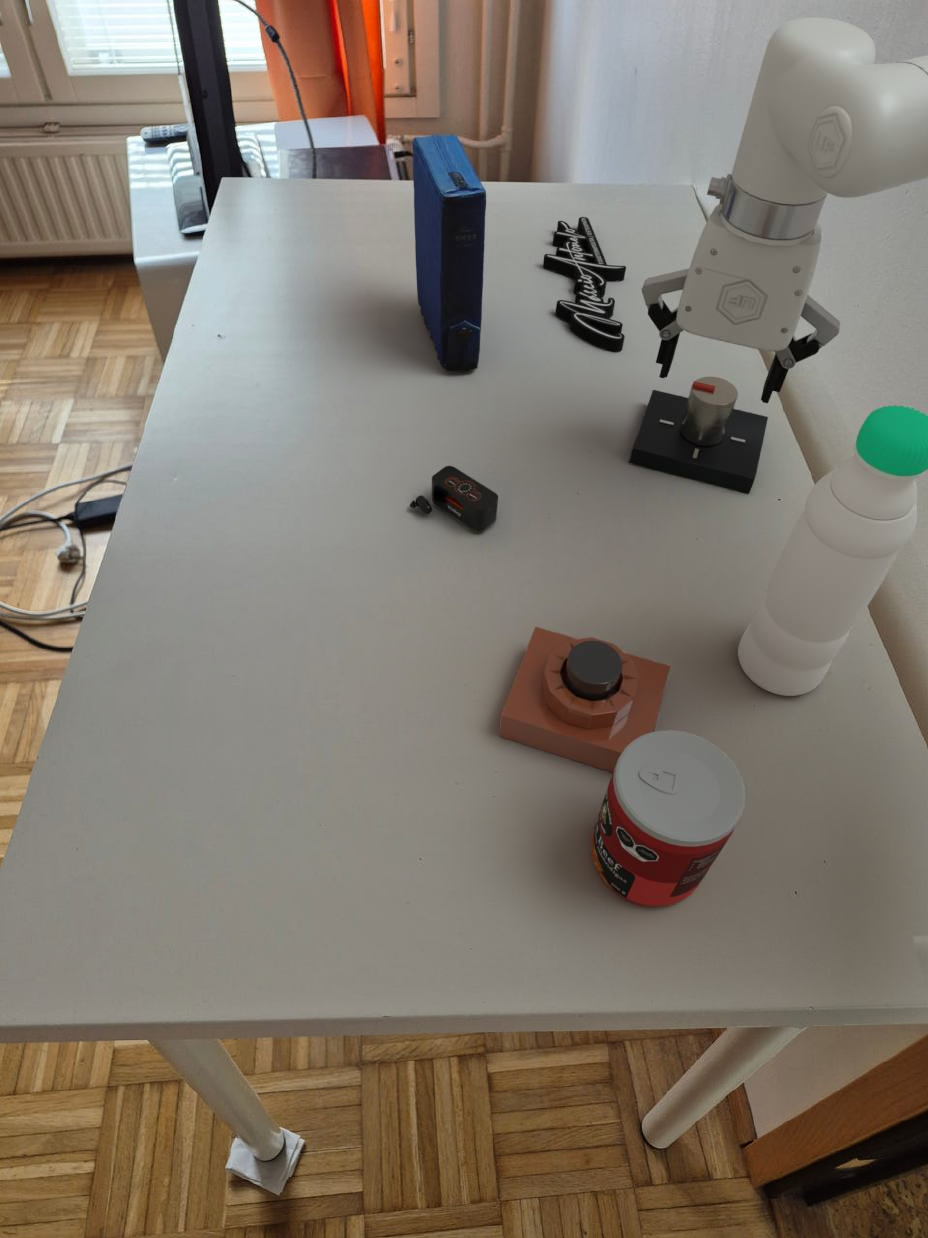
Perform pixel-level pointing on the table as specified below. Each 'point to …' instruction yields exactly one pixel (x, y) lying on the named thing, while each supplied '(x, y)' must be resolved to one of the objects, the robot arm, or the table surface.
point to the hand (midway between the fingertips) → (715, 381)
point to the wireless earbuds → (461, 499)
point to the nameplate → (586, 285)
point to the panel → (710, 464)
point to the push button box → (580, 704)
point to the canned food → (665, 817)
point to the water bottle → (838, 554)
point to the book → (449, 248)
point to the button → (593, 670)
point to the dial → (708, 410)
